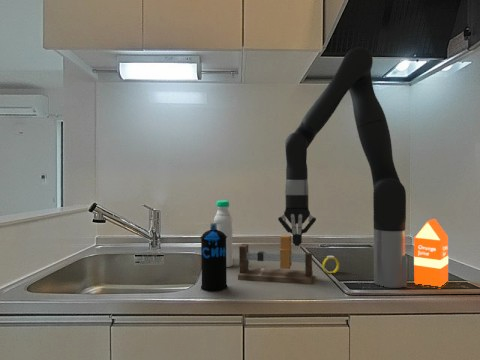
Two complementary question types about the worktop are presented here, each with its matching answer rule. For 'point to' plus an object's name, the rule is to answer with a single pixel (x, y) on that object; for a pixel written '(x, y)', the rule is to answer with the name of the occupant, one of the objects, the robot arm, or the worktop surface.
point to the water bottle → (225, 228)
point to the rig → (274, 271)
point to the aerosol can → (213, 259)
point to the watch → (325, 262)
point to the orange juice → (431, 255)
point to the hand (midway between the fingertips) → (297, 245)
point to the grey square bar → (273, 256)
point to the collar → (285, 252)
